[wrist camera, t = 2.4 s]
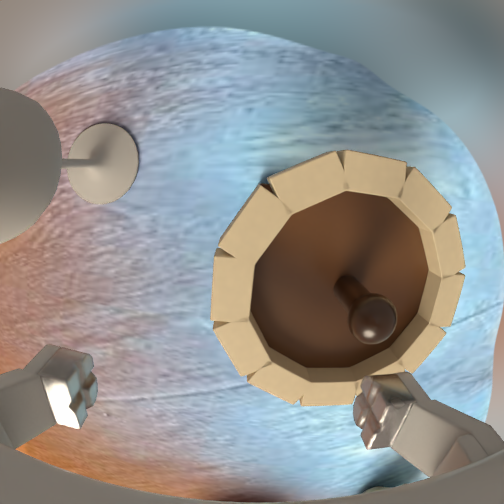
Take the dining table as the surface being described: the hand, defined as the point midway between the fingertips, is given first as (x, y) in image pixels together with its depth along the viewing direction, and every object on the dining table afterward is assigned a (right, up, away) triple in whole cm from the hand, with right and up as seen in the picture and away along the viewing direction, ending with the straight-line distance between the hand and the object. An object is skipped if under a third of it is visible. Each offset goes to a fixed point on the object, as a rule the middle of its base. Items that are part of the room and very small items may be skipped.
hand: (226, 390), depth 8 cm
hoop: (+6, +2, +9) cm, 11 cm away
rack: (+6, +4, +19) cm, 20 cm away
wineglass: (-12, +12, +16) cm, 24 cm away
